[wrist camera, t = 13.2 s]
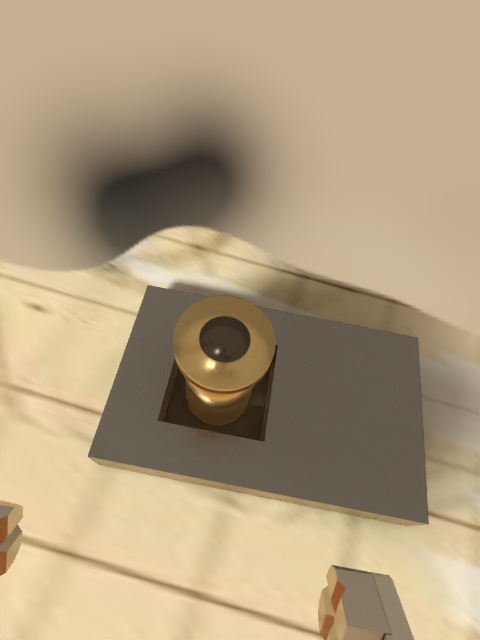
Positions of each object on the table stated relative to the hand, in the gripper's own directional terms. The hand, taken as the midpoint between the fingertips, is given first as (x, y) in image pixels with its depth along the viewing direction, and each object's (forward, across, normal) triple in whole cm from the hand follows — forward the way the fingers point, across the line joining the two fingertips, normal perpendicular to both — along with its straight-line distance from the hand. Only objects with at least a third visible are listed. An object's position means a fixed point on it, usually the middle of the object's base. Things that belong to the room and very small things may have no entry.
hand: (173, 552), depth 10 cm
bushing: (+15, 0, +3) cm, 15 cm away
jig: (+15, -3, +3) cm, 15 cm away
